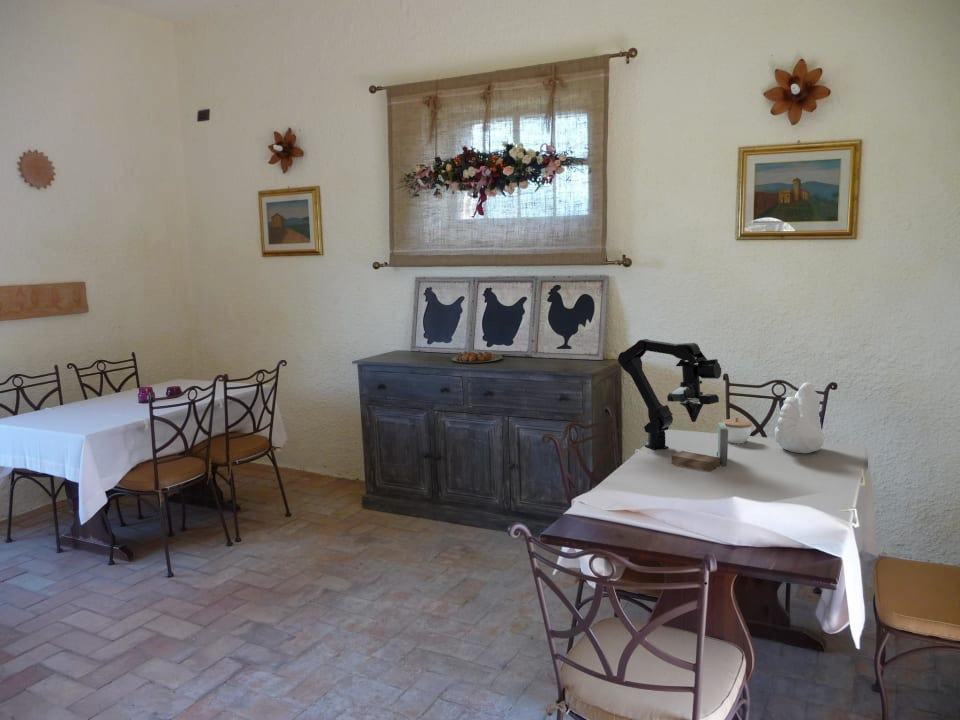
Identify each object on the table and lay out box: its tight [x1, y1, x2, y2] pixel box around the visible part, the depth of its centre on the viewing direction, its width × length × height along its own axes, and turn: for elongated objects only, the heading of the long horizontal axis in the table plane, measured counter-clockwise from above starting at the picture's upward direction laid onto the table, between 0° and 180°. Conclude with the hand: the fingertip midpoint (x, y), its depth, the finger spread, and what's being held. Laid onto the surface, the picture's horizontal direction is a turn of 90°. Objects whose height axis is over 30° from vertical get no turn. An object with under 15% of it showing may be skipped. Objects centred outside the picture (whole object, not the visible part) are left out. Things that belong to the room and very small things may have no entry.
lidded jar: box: [721, 417, 753, 445], centre depth 272 cm, size 11×11×9 cm
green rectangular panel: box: [716, 421, 729, 466], centre depth 245 cm, size 13×2×12 cm, turn 166°
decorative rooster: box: [774, 381, 825, 454], centre depth 255 cm, size 25×16×25 cm, turn 120°
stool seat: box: [670, 450, 721, 472], centre depth 242 cm, size 14×8×3 cm, turn 46°
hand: (693, 421), depth 254 cm, fingers closed
